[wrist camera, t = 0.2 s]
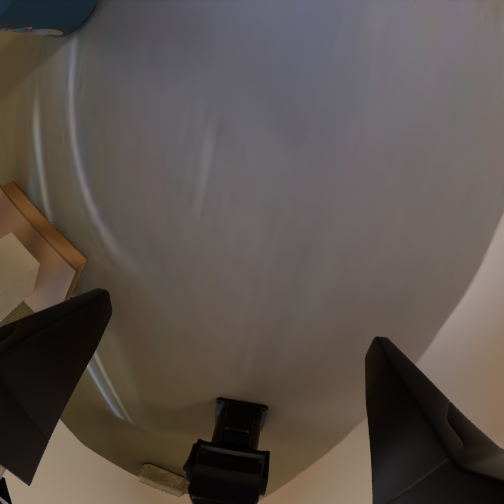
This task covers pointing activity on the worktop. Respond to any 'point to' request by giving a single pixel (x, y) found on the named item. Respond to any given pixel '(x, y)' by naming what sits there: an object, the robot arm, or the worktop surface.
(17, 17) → the soda can
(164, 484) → the stone block
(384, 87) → the worktop surface
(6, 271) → the cream box
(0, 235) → the wooden base plate
